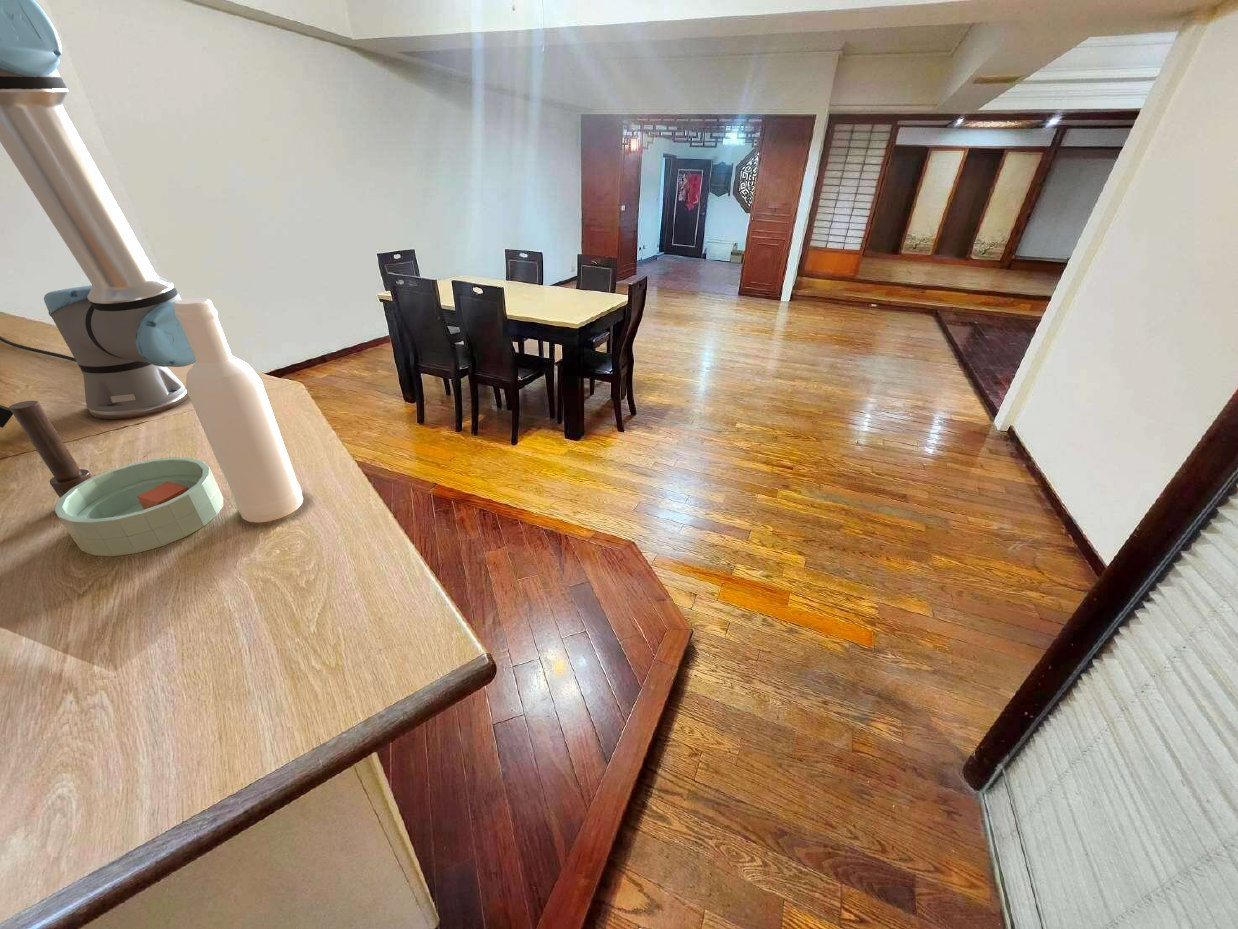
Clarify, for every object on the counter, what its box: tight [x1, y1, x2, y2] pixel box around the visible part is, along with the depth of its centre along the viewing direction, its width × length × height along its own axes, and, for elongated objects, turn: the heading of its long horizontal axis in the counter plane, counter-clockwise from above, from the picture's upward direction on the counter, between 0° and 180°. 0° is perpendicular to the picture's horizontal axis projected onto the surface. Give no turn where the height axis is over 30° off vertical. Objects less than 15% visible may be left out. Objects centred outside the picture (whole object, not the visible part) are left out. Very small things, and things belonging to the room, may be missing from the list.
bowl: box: [53, 456, 224, 557], centre depth 68 cm, size 16×16×6 cm
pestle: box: [8, 400, 93, 499], centre depth 68 cm, size 4×4×16 cm
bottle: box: [173, 297, 304, 523], centre depth 65 cm, size 8×8×30 cm
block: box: [137, 482, 189, 510], centre depth 69 cm, size 4×4×4 cm
